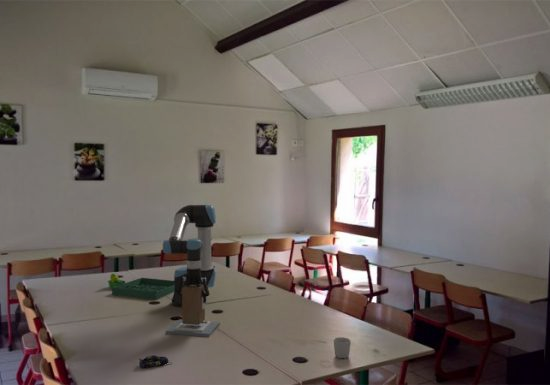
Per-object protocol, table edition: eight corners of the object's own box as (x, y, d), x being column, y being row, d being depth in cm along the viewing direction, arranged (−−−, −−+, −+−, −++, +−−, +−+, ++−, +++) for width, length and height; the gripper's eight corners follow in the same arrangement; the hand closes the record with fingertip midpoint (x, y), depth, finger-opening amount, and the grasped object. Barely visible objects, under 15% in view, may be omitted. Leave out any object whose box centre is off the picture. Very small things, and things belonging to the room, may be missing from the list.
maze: (182, 289, 362) (182, 281, 362) (156, 300, 329) (156, 291, 328) (141, 285, 373) (141, 277, 373) (112, 295, 340) (112, 287, 340)
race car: (168, 359, 229) (168, 350, 229) (173, 364, 223) (173, 354, 223) (136, 366, 221) (136, 356, 220) (141, 371, 215) (141, 361, 215)
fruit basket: (126, 287, 360) (126, 272, 360) (116, 290, 353) (116, 274, 352) (115, 285, 366) (115, 270, 366) (105, 288, 359) (105, 272, 358)
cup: (330, 351, 240) (331, 335, 239) (346, 351, 240) (347, 335, 240) (335, 360, 229) (335, 343, 228) (352, 359, 229) (352, 342, 229)
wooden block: (199, 325, 264) (199, 288, 263) (181, 324, 266) (181, 287, 265) (205, 319, 274) (205, 284, 273) (188, 318, 276) (188, 283, 275)
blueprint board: (165, 333, 263) (165, 329, 263) (179, 322, 282) (179, 317, 282) (209, 336, 259) (209, 331, 259) (219, 324, 278) (219, 320, 278)
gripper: (171, 268, 267) (171, 308, 268) (211, 270, 263) (211, 311, 264) (176, 265, 274) (176, 305, 276) (215, 267, 271) (215, 307, 272)
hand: (193, 308), depth 270 cm, fingers closed on wooden block, 10 cm apart
